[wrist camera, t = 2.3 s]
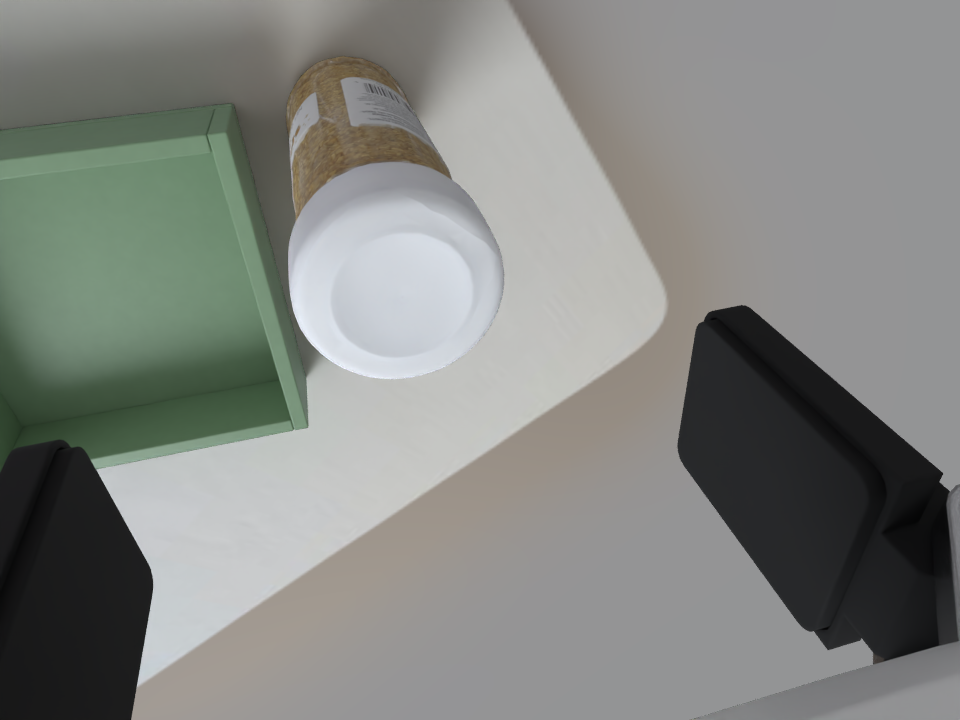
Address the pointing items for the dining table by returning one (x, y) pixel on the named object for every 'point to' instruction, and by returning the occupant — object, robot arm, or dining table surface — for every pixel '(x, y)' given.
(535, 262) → the dining table surface
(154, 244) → the green bin
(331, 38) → the dining table surface
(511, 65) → the dining table surface
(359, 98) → the sprinkles bottle
